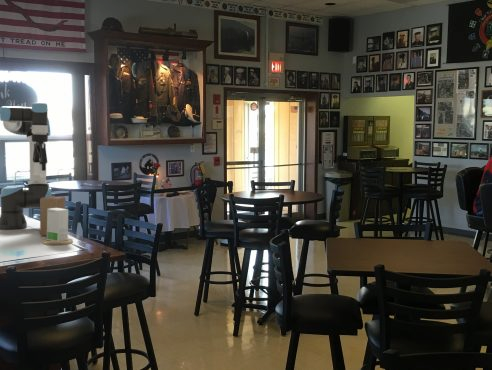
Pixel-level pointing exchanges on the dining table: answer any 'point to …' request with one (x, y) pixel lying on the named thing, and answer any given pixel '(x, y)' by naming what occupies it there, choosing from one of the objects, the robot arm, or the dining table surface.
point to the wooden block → (48, 204)
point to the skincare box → (57, 224)
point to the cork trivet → (57, 242)
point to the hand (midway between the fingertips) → (39, 176)
